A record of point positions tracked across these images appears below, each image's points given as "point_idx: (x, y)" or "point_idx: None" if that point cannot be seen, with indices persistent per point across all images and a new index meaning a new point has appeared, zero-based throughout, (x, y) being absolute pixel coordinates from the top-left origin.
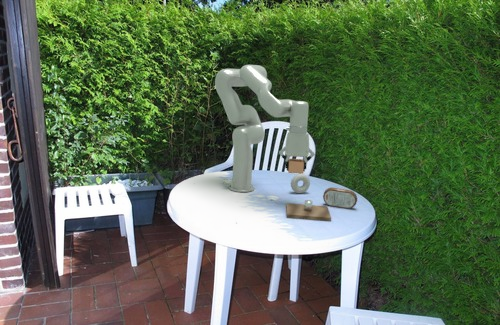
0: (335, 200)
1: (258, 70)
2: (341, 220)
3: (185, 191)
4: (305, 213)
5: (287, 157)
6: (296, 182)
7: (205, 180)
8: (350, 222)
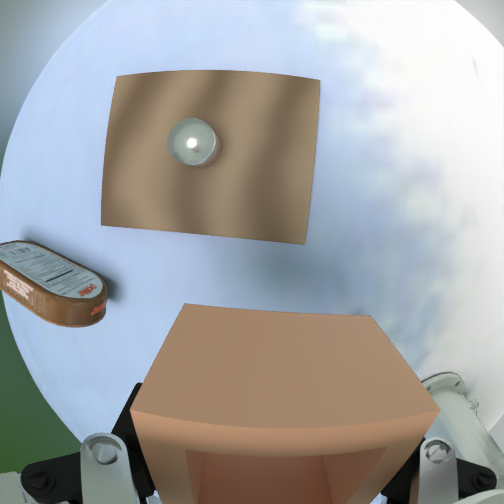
0: (61, 271)
1: None
2: (83, 104)
3: None
4: (223, 99)
5: (448, 487)
6: None
7: None
8: (62, 96)
